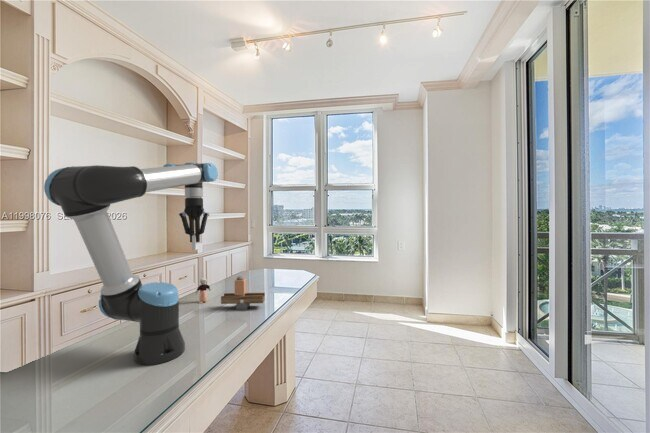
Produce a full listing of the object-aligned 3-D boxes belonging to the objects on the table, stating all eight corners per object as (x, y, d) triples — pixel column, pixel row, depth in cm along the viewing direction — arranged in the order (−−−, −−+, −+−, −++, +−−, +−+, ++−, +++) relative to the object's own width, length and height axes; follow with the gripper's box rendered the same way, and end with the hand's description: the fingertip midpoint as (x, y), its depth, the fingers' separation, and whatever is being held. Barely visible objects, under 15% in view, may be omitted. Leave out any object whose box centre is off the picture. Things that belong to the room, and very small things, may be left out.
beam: (262, 309, 146) (262, 296, 146) (220, 310, 146) (220, 296, 146) (265, 305, 153) (264, 292, 153) (225, 305, 153) (225, 292, 153)
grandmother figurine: (199, 304, 155) (198, 279, 154) (195, 303, 157) (194, 278, 157) (212, 300, 161) (212, 277, 160) (208, 299, 163) (208, 276, 163)
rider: (244, 298, 147) (243, 278, 147) (234, 298, 147) (234, 278, 147) (246, 295, 152) (245, 276, 151) (237, 295, 151) (236, 276, 151)
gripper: (211, 197, 141) (212, 248, 142) (183, 197, 141) (184, 248, 142) (205, 197, 134) (206, 250, 134) (175, 197, 133) (176, 250, 134)
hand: (195, 249), depth 138 cm, fingers closed
